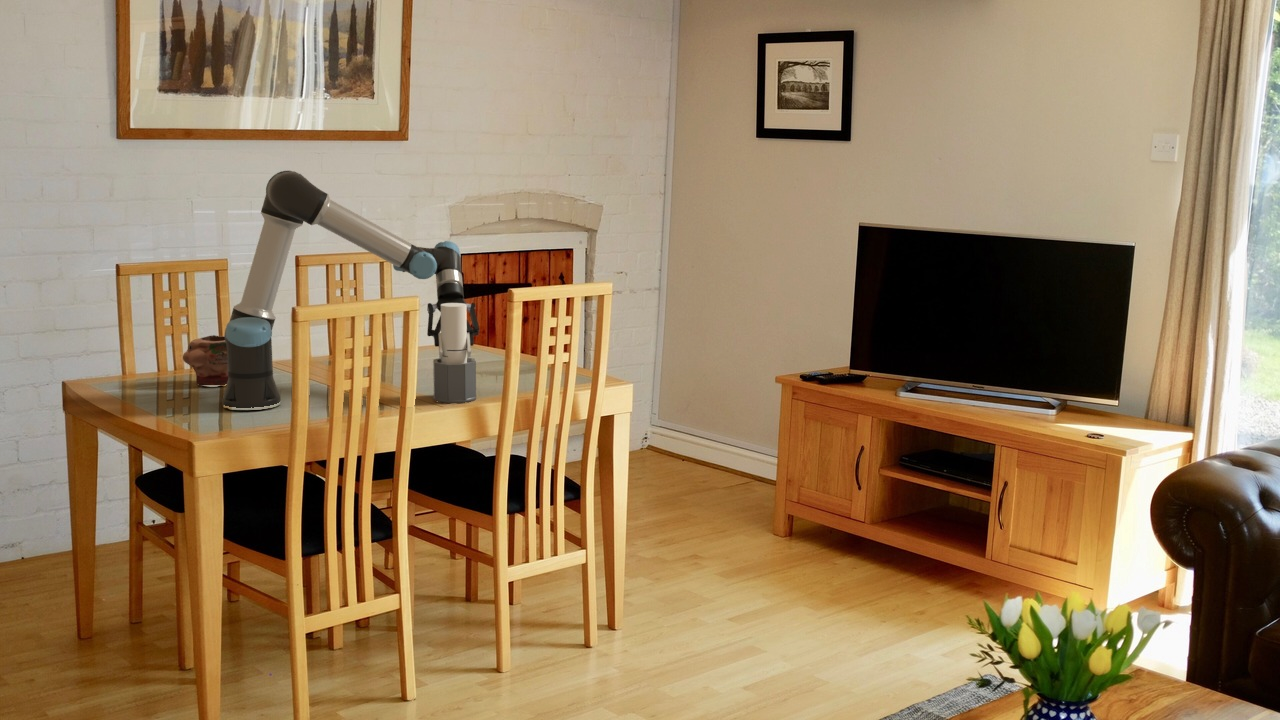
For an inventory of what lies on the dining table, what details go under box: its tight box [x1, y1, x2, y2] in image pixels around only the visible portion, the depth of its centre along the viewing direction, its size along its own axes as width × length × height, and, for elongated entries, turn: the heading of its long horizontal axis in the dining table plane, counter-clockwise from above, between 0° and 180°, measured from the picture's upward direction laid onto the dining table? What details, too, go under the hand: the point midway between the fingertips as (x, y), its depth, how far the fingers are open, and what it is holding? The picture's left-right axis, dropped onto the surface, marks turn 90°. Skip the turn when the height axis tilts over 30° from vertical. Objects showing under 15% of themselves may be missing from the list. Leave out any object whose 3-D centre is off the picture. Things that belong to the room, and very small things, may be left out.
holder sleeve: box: [432, 357, 477, 404], centre depth 348 cm, size 12×12×11 cm
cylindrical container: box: [440, 303, 468, 364], centre depth 346 cm, size 7×7×25 cm
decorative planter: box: [182, 334, 228, 386], centre depth 361 cm, size 20×12×14 cm, turn 121°
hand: (455, 354), depth 343 cm, fingers closed on cylindrical container, 7 cm apart
